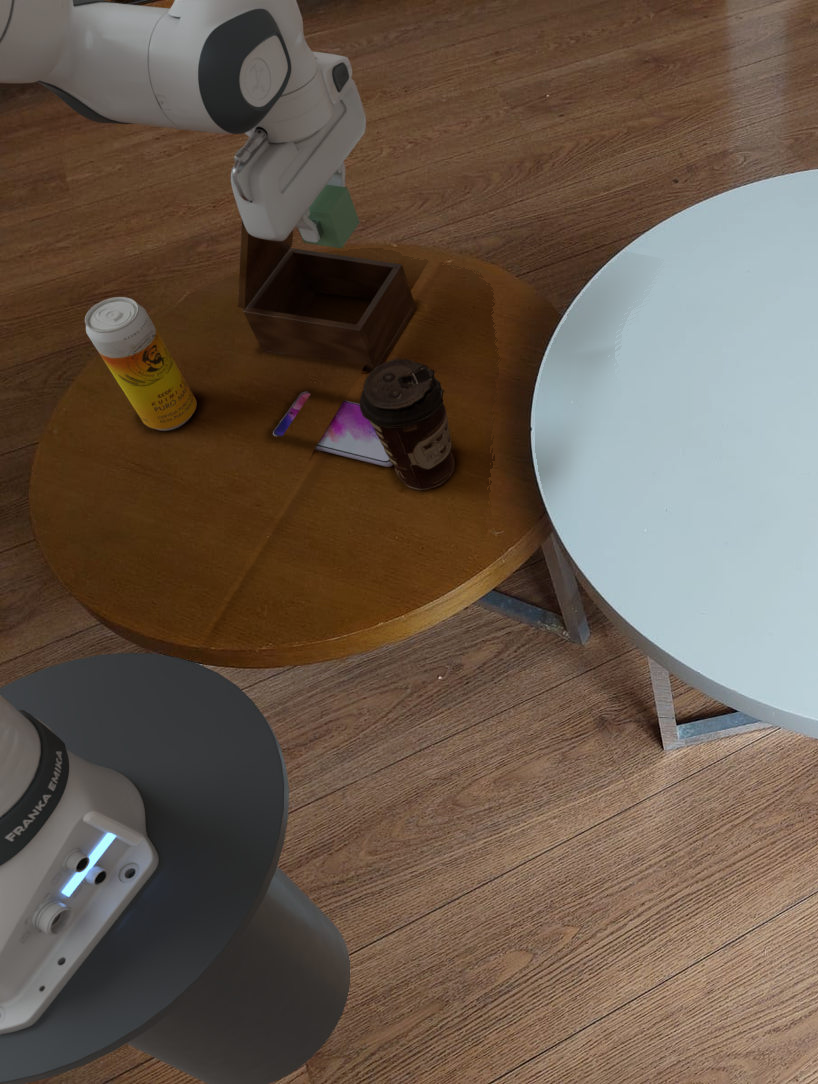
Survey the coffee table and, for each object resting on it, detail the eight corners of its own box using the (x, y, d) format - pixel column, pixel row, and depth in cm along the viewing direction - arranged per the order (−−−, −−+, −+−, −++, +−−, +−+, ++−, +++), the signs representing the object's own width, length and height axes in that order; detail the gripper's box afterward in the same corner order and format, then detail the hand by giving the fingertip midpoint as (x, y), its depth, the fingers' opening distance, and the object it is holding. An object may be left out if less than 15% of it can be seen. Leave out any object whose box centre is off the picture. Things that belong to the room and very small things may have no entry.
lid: (301, 149, 120) (294, 145, 119) (249, 214, 113) (241, 211, 113) (292, 245, 132) (285, 242, 132) (244, 309, 125) (237, 306, 125)
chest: (416, 308, 135) (402, 264, 130) (376, 373, 129) (359, 330, 123) (308, 291, 138) (290, 247, 132) (264, 355, 131) (242, 311, 126)
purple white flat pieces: (390, 464, 119) (269, 435, 122) (392, 470, 120) (272, 440, 123) (420, 417, 123) (302, 389, 126) (422, 422, 124) (305, 394, 127)
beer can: (177, 439, 123) (115, 339, 111) (132, 426, 125) (67, 325, 113) (210, 403, 127) (154, 302, 115) (167, 390, 128) (107, 288, 116)
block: (342, 248, 117) (328, 213, 113) (303, 243, 117) (288, 207, 114) (360, 222, 119) (347, 187, 116) (322, 217, 120) (308, 181, 116)
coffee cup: (479, 446, 122) (454, 360, 111) (451, 504, 117) (422, 419, 106) (405, 434, 123) (374, 348, 112) (375, 490, 118) (339, 406, 108)
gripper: (259, 169, 99) (309, 288, 111) (356, 49, 111) (393, 167, 122) (196, 161, 100) (253, 279, 112) (299, 42, 112) (341, 160, 123)
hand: (327, 220), depth 117 cm, fingers closed on block, 4 cm apart
